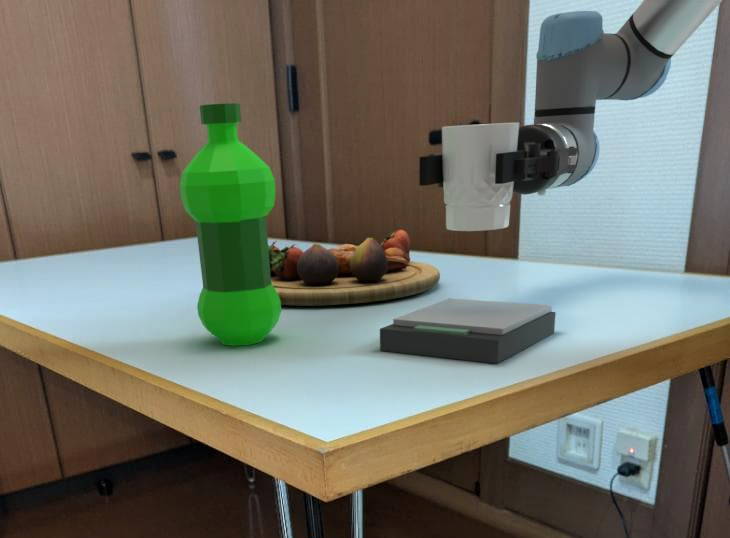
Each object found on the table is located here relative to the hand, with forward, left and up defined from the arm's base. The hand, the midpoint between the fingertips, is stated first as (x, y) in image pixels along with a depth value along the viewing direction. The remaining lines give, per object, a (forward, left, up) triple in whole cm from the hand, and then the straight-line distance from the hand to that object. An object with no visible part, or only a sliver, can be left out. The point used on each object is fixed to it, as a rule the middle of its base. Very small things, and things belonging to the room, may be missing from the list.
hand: (460, 170), depth 80 cm
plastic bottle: (+25, +8, -18) cm, 31 cm away
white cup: (0, -5, -6) cm, 8 cm away
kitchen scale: (0, -2, -18) cm, 18 cm away
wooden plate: (+35, -26, -18) cm, 47 cm away
